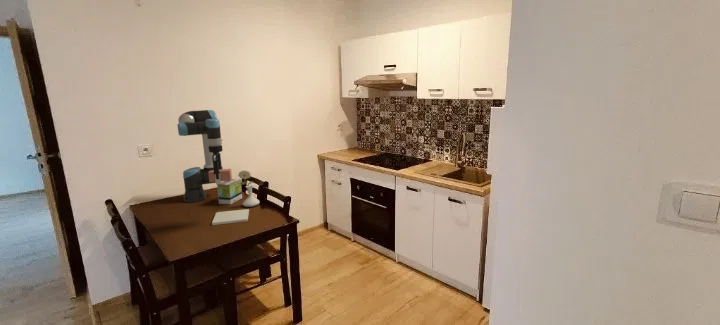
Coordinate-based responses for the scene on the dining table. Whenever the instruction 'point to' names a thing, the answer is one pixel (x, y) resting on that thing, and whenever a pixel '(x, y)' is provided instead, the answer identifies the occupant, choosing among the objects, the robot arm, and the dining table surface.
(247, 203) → the flower in vase
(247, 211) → the grey board
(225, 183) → the tea box
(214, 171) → the robot arm
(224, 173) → the brick block
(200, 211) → the dining table surface
